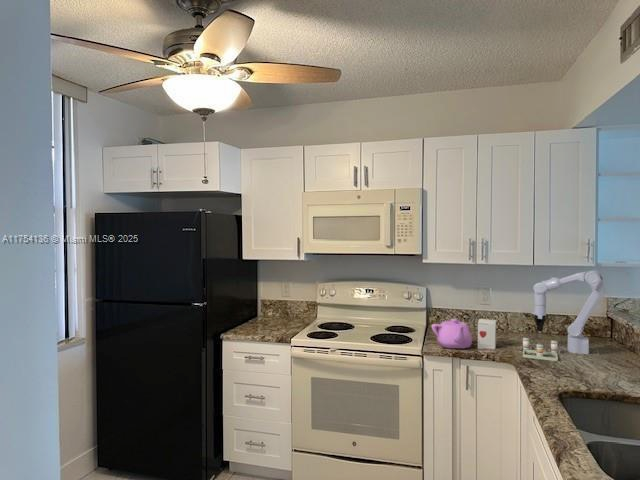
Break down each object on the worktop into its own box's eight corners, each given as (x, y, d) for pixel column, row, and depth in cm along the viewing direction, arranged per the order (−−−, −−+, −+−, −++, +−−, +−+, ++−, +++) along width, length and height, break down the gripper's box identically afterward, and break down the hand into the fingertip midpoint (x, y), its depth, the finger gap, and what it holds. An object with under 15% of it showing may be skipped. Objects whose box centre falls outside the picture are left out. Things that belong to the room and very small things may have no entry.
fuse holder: (560, 354, 221) (560, 349, 221) (561, 357, 216) (561, 352, 216) (519, 349, 230) (519, 344, 230) (519, 352, 224) (519, 347, 224)
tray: (556, 357, 215) (556, 352, 215) (557, 363, 205) (557, 358, 205) (523, 353, 222) (523, 349, 222) (522, 358, 212) (522, 354, 212)
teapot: (427, 342, 244) (427, 316, 244) (464, 342, 244) (465, 316, 244) (438, 353, 221) (438, 324, 221) (479, 353, 221) (479, 324, 221)
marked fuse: (543, 356, 215) (543, 344, 214) (543, 358, 212) (543, 345, 212) (536, 355, 216) (536, 343, 216) (536, 357, 213) (536, 345, 213)
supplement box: (477, 349, 230) (477, 321, 230) (478, 345, 238) (478, 318, 238) (495, 351, 226) (495, 322, 226) (496, 347, 235) (496, 319, 234)
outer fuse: (529, 349, 226) (529, 337, 226) (529, 350, 224) (529, 339, 224) (522, 348, 228) (522, 337, 228) (522, 350, 225) (522, 338, 225)
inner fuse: (557, 352, 220) (557, 340, 220) (557, 353, 218) (557, 342, 218) (550, 351, 222) (550, 340, 222) (550, 353, 219) (550, 341, 219)
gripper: (531, 302, 241) (531, 326, 241) (531, 306, 228) (531, 331, 228) (546, 303, 237) (545, 327, 238) (546, 307, 224) (546, 333, 225)
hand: (539, 329), depth 232 cm, fingers open, 7 cm apart
